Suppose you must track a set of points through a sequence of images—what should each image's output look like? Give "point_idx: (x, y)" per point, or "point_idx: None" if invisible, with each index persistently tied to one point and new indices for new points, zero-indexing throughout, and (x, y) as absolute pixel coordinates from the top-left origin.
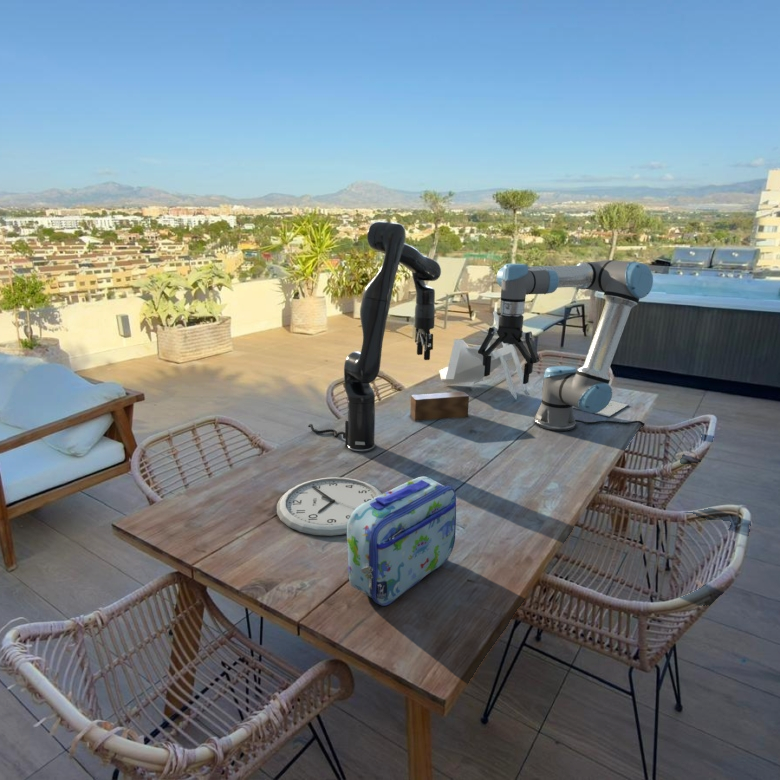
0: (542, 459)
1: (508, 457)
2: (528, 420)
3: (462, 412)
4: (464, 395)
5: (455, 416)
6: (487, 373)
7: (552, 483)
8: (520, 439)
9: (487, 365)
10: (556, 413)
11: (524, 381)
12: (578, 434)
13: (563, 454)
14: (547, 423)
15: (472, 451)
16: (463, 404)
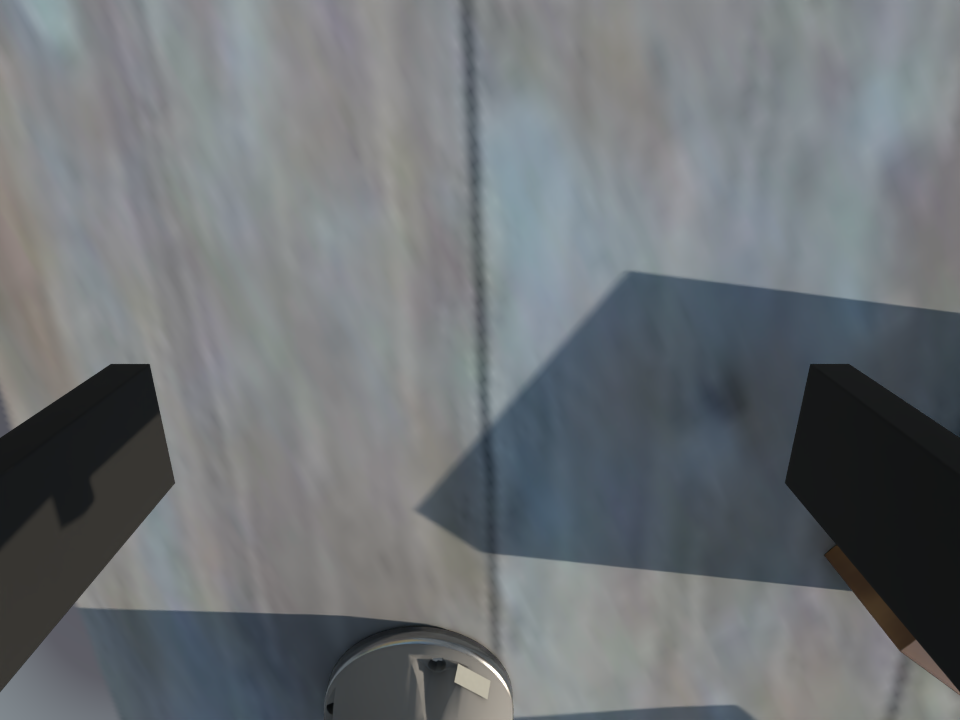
0: (263, 290)
1: (412, 196)
2: (538, 672)
3: None
4: None
5: None
6: (825, 421)
7: (63, 24)
8: (469, 452)
9: (938, 490)
10: (378, 717)
11: (97, 379)
12: (283, 652)
13: (218, 411)
14: (417, 651)
15: (616, 137)
16: None
